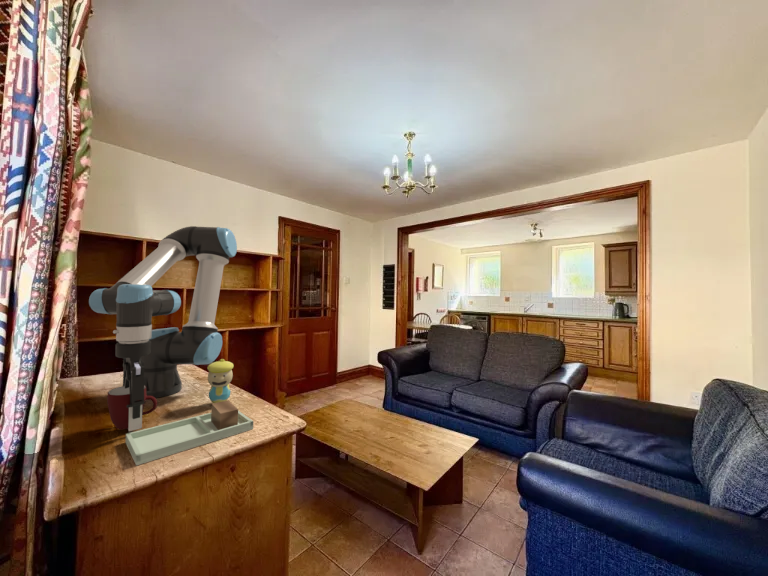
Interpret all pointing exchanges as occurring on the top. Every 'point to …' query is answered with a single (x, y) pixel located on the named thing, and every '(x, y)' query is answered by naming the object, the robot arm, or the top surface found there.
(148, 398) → the mug
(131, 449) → the jig
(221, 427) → the brown rectangular block
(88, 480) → the top surface
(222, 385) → the toy
